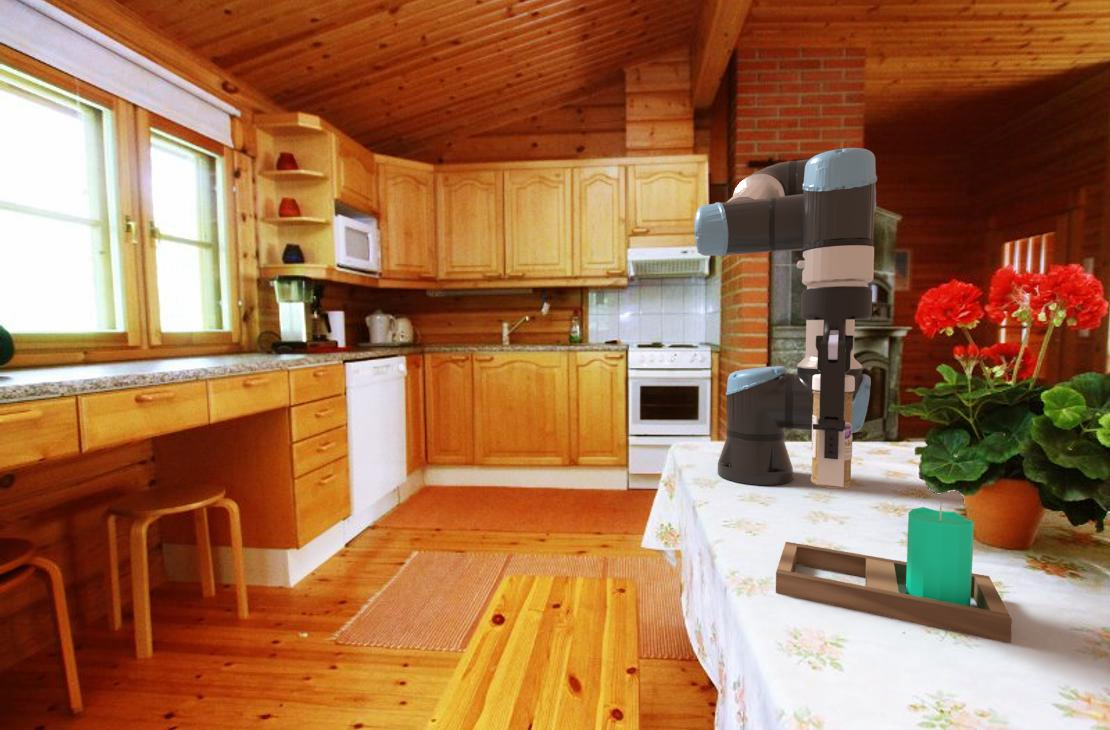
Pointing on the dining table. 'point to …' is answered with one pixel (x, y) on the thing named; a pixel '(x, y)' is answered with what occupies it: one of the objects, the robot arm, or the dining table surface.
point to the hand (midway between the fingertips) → (831, 478)
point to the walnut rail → (889, 592)
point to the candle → (939, 555)
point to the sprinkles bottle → (848, 429)
